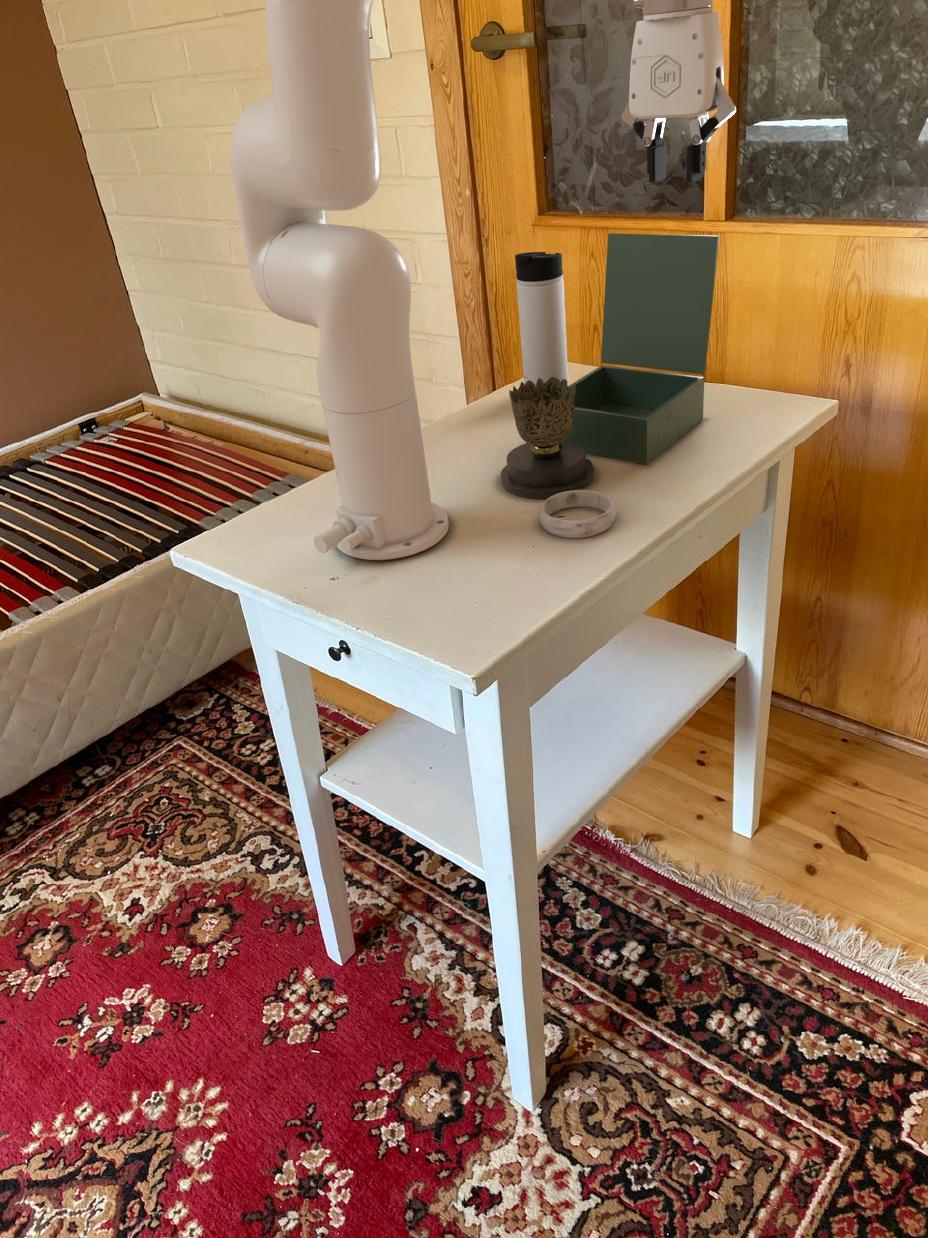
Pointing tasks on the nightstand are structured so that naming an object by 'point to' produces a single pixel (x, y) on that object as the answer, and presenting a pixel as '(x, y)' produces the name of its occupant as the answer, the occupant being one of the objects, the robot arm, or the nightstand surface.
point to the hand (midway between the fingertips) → (675, 178)
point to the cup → (544, 414)
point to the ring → (579, 526)
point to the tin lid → (659, 301)
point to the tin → (634, 412)
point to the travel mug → (542, 316)
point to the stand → (546, 471)
